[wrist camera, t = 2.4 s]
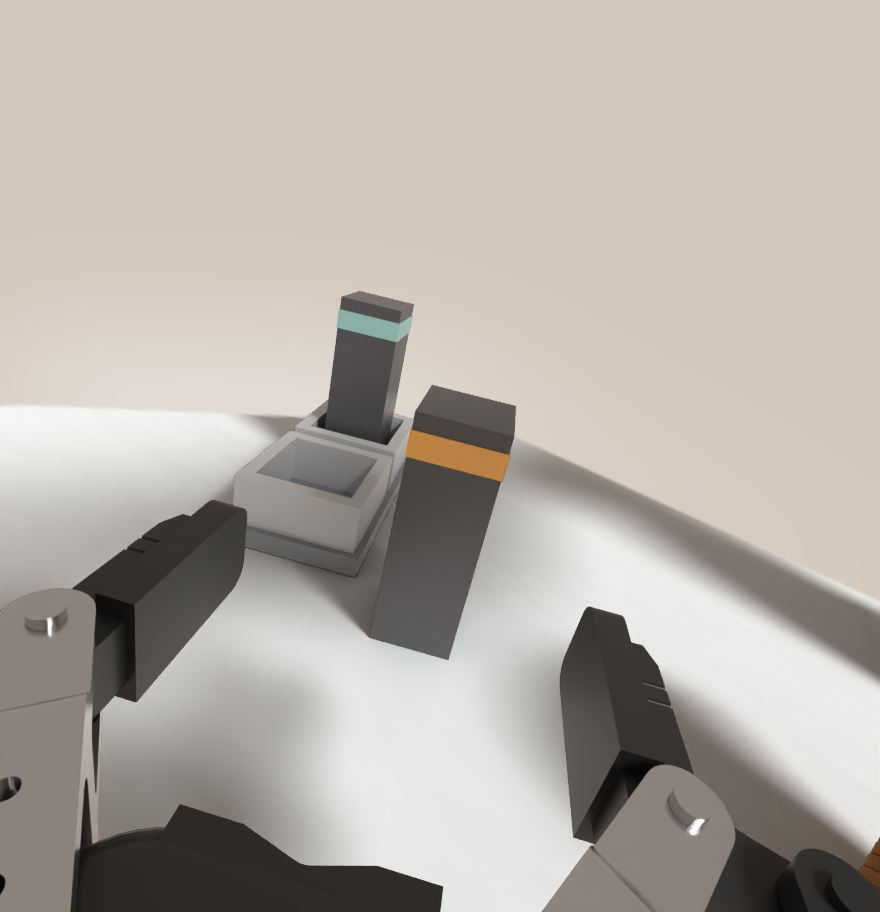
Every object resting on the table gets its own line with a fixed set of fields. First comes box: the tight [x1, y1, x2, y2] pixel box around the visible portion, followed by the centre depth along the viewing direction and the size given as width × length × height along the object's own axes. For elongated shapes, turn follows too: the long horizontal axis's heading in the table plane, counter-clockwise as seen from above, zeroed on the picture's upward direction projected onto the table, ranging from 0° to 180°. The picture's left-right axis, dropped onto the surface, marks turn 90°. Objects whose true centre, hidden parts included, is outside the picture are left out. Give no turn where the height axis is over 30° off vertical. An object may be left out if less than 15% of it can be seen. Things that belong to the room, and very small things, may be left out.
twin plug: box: [325, 291, 414, 445], centre depth 37 cm, size 4×4×12 cm
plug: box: [369, 385, 516, 660], centre depth 24 cm, size 4×4×12 cm
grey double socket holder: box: [233, 399, 414, 577], centre depth 35 cm, size 8×16×4 cm, turn 171°
